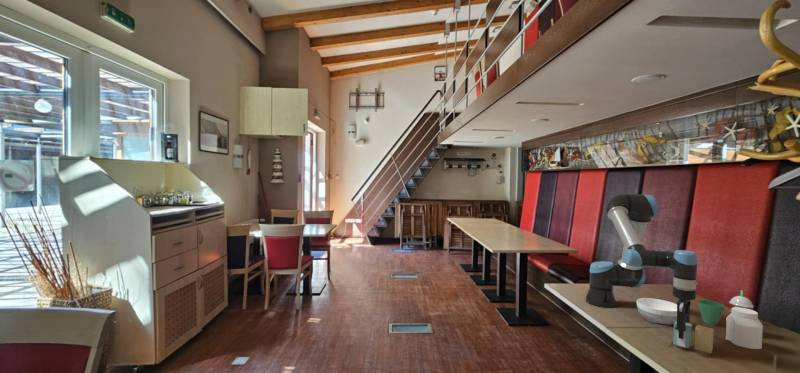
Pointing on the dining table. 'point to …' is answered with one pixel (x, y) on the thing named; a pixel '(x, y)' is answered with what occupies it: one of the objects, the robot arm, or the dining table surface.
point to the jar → (744, 328)
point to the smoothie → (740, 302)
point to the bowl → (657, 310)
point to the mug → (710, 311)
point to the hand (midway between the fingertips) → (682, 343)
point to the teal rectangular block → (688, 334)
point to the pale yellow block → (703, 339)
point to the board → (691, 350)
